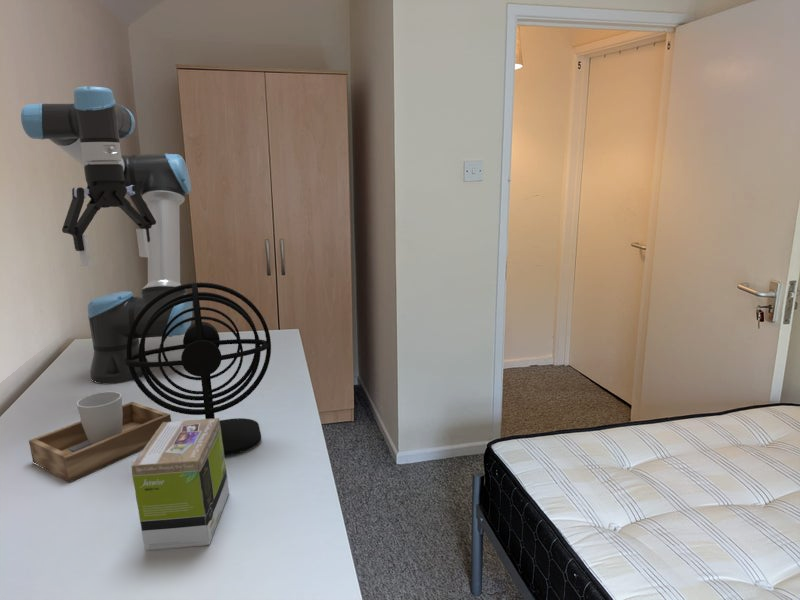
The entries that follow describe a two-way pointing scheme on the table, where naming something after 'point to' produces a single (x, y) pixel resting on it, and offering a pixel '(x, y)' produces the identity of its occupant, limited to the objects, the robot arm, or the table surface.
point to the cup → (101, 415)
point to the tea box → (181, 484)
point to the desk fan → (203, 362)
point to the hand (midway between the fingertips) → (116, 261)
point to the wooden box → (76, 455)
